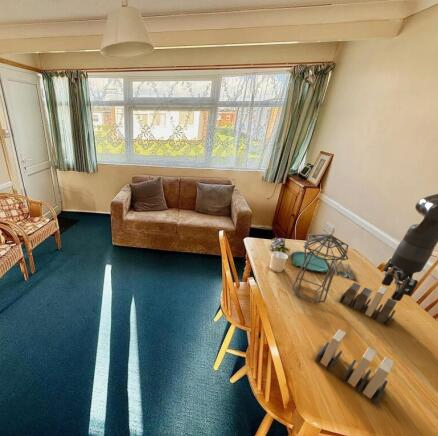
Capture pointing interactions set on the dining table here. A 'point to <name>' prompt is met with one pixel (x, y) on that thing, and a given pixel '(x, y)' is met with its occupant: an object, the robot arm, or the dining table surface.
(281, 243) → the purple flower bunch
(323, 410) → the dining table surface
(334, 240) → the geometric lantern
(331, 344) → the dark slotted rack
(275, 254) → the white cup
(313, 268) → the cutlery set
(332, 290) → the dining table surface
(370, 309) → the white book
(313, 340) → the dining table surface
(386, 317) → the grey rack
